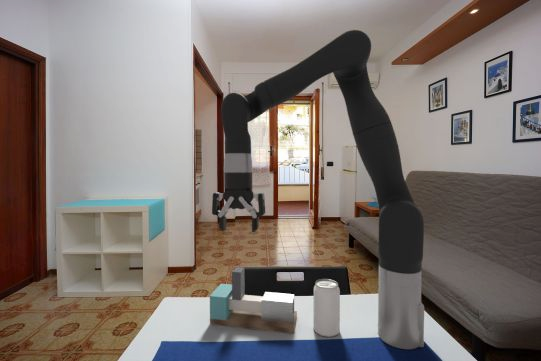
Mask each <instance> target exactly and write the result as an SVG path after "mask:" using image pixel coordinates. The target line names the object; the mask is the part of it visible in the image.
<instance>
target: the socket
mask: <svg viewBox="0 0 541 361" xmlns="http://www.w3.org/2000/svg"><path fill="white" fill-rule="evenodd" d="M231 294H232V283H231V284H230V283H220V284H219V285H218V286H217V287H216V289H215V290H214V291H213V292H212V293H211V294H210V295H209V320H210V319H219V320H227V318H228V317H229V315H230V314H231V312H232V311H233V310H229V297H230V295H231Z"/></svg>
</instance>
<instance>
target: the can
mask: <svg viewBox="0 0 541 361" xmlns="http://www.w3.org/2000/svg"><path fill="white" fill-rule="evenodd" d="M340 296H341V291H340V287H339V283H338V282H337V281H335V280H333V279H329V278H321V279H317V280H316V281H315V285H314V286H313V330H314V331H315V333H316V334H317V335H319V336H321V337H324V338H325V337H326V338H333V337H336V336H337V335H338V334H339V333H340V327H341V326H340V324H341V322H340V321H341V319H340V318H341V314H340V313H341V309H340V308H341V298H340Z"/></svg>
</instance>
